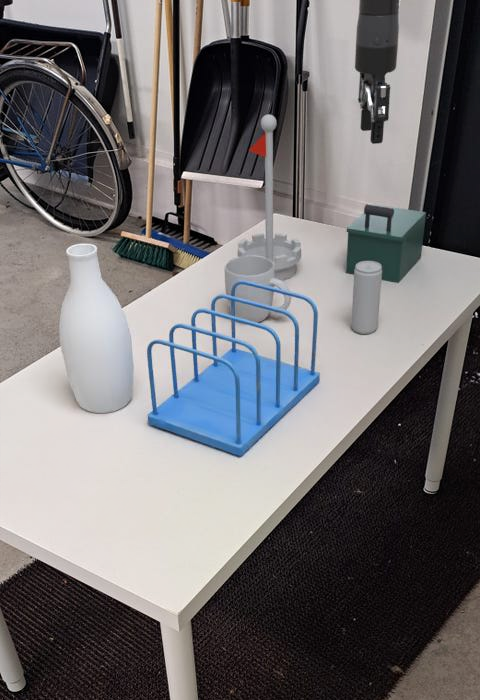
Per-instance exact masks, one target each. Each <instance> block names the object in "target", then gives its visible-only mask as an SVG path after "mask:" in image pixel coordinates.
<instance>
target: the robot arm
mask: <svg viewBox="0 0 480 700" xmlns="http://www.w3.org/2000/svg"><path fill="white" fill-rule="evenodd" d="M400 1H401V0H359V5H358V7H359V8H358V18H357V24H356V37H355V39H356V40H355V56H354V68H355V71H356V72H357V73H359V84H358V86H359V87H358V98H357V101H358V103H359V107H360V108H359V109H360V110H361V111H360V126H359V127H360V130H361V131H362V132H368V131H370V142H371V144H372V145H374V144H375V145H376V144H382V143H383V140H384V128H385V122H388V121H389V118H390V116H389V113H390V97H391V85H390V84H388V82H386V75H387V74H388V73H392V72H394V71H395V70H396V68H397V62H398V61H397V59H398V49H399V36H400V4H401V2H400ZM379 111H380V113H379Z"/></svg>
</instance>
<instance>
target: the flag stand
mask: <svg viewBox="0 0 480 700" xmlns="http://www.w3.org/2000/svg"><path fill="white" fill-rule="evenodd" d="M260 127H261V129H262V130H263V134H262V136H260V137H259V139H257V141H256V142H255V143H254V144H253V145H252V146H251V147H250V148H249V149H248V151H249V152H251V153H253V154H255V155H259V156H261V157H264V199H265V200H264V201H265V202H264V206H265V208H264V209H265V211H264V212H265V213H264V215H265V218H264V219H265V233H263V232H262V233H257V234H252V235H251V240H250V241H248V239H246V238H242V239H241V240H240V241H238V242H237V252H236V253H237V257H241V256H260V257H264V258H267V259H269V260H271V261H272V262H273V264H274V274H275V279H279V280H281V281H285V280H288V279H291V278H292V277H293V276H295V274H296V273H297V264H298V263H299V262H300V261H301V259H302V242H301V240H299V239H298V238H297V237H294V238H291V240H289V239H288V234H285V233H278V232H275V233H274V130H275V129H276V128H277V119H276V117H275V116H274V115H272V114H271V113H269V114H265V115H264V116H263V117H262V118H261V119H260Z"/></svg>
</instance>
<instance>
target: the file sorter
mask: <svg viewBox="0 0 480 700" xmlns="http://www.w3.org/2000/svg"><path fill="white" fill-rule="evenodd" d="M240 284H244V285H249V286H253V287H257V288H261V289H265V290H269V291H273V292H274V293H277V294H280V295H283V296H284V295H288V296H291V298H292V297H293V298H296V299H300V300H303V301H305V302H306V303H308V304H309V305H310V307H311V309H312V312H313V320H312V321H313V325H312V326H313V327H312V340H311V341H312V344H311V361H310V362H311V363H310V369H307V368H304V367H301V366H299V356H300V355H299V354H300V351H299V350H300V346H299V345H300V326H299V322H298V320H297V319H296V317H295V316H294V315H293V314H292V313H291V312H290V311H288V310H287V309H286V310H283V309H280V308H276V307H277V306H273V305H272V306H268V305H265V304H261V303H257V302H253V301H249V300H246V299H242V298H238V297H235V289H236V287H237V286H238V285H240ZM221 299H223V300H224V299H225V300H227V299H228V300H231V312H230V314H228V313H223V312H221V311H217V310H216V303H217V301H218V300H221ZM235 301H236V302H240V303H244V304H248V305H252V306H255V307H259V308H263V309H267V310H270V311H274V312H278V314H282V315H285V316H286V317H288V318H289V319H290V321H291V322H292V323H293V327H294V360H293V361H294V362H293V364H290V363H287V362H283V361H281V350H282V349H281V340H280V338H279V335H278V334H277V333H276V331H275V330H274V329H273V328H272V327H270V326H268V325H266V324H262V323H260V322H258V323H256V322H253V321H249V320H246V319H242V318H238V317H235ZM198 314H207V315H210V316H211V321H210V322H211V330H208V329H204V328H200V327H197V326H196V325H197V324H196V318H197V315H198ZM216 317H218V318H223V319H226V320H229V321H231V323H230V324H231V325H230V326H231V336H229V335H225V334H221V333H218V332H217V327H216V325H217V324H216V321H217V320H216V319H217V318H216ZM318 317H319V312H318V308H317V305H316V304H315V302H314V301H313V300H312V299H311V298H310V297H308V296H307V295H304V294H301V293H297V292H293V291H291V290H290V291H286V290H282V289H279V288H278V287H275V286H274V287H270V286H266V285H262V284H258V283H254V282H250V281H245V280H241V281H238V282H237V283H235V284H234V285H233V287H232V289H231V296H230V295H226V293H224V294H223V293H220V294H218V295H216V296H215V297H214V298H213V299H212V300H211V303H210V309H209V308H199V309H196V310H195V311H194V312H193V313H192V315H191V319H190V325H189V324H186V323H177V324H176V323H175V325H173V326H172V327H171V328H170V330H169V334H168V341H167V340H163V339H154V340H152V341H150V342H149V344H148V345H147V348H146V358H147V359H146V360H147V368H148V379H149V388H150V389H149V390H150V399H151V407H152V408H151V409H152V411H150V412H149V413H148V414H147V424H148V425H151V426H154V427H156V428H159V429H162V430H166V431H169V432H171V433H174V434H177V435H180V436H182V437H185V438H188V439H190V440H194V441H197V442H199V443H202V444H205V445H207V446H210V447H213V448H216V449H219V450H222V451H225V452H228V453H230V454H234V455H236V456H238V457H241V456H243V455H244V454H245V453H246V452H247V451H248V449H250V448H251V447H252V446H253V445H255V443H256V442H257V441H258V440H259V439H261V438H262V436H264V435H265V434H266V432H267V431H269V430H270V429H271V428H272V427H274V425H275V424H276V423H278V422H279V421H280V420H281V418H283V416H285V415H286V414H287V413H288V412H289V411H290V410H291V409H292V408H293V407H294V406H295V405H296V404H297V403H299V402H300V400H302V399H303V398H304V397H305V396H306V395H307V394H308V393H309V392H311V390H312V389H313V388H314V387H315V386H316V385H317V384H319V382H320V380H321V379H320V375H321V374H320V372H317V371H315V370H316V357H317V356H316V355H317V353H316V352H317V338H318ZM236 322H237V323H239V324H240V323H241V324H243V325H247V326H251V327H254V328H257V329H261V330H264V331H266V332H267V333H269V334H270V335H272V337H273V338H274V341H275V344H276V345H275V346H276V349H275V351H276V352H275V359H273V358H270V357H267V356H262V355H260V354H259V353H258V351H257V350H256V348H255V347H254V346H253V345H251V343H249V342H247V341H245V340H242V339H239V338H236ZM177 329H185V330H187V331H191V346H192V348H191V347H188V346H185V345H182V344H178V343H176V342H175V341H174V333H175V331H176V330H177ZM198 333H199V334H202V335H205V336H206V335H207V336H210V337H212V339H211V340H212V341H211V342H212V354H211V353H208V352H205V351H201V350H198V349H197V334H198ZM217 339H219V340H223V341H226V342H230V343H231V348H230V349H229V350H227V351H226V352H225V353H224V354H222V355H221V356H218V347H217V346H218V345H217ZM174 342H175V343H174ZM154 345H162V346H166V347H169V357H170V366H171V376H172V386H173V387H172V388H173V394H172V395H171V396H169V397H168V398H167V399H166V400H165V401H163V402H162V403H161V404H159V405H158V406H157V398H156V397H157V396H156V387H155V378H154V368H153V356H152V355H153V353H152V350H153V346H154ZM236 345H240V346H243V347H245V348H246V349H248V350H249V351H250V352H249V351H246V350H243V349H239V348H237V346H236ZM175 349H177V350H180V351H183V352H187V353H189V354H191V355H192V361H193V375H194V377H193V378H192V379H191V380H189V381H188V382H187V383H186V384H185V385H183V386H182V387H181V388H178V378H177V377H178V375H177V365H176V355H175ZM198 356H199V357H203V358H206V359H208V360H212V361H213V363H211V364H210V365H209V366H208V367H206V368H205V369H204V370H202V371H201V372H200V373H199V367H198Z"/></svg>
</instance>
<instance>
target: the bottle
mask: <svg viewBox="0 0 480 700" xmlns="http://www.w3.org/2000/svg"><path fill="white" fill-rule="evenodd" d="M65 255H66V256H67V260H68V267H69V276H70V283H69V286H68V288H67V291H66V293H65V297H64V299H63V300H62V304H61V307H60V308H61V309H60V315H59V322H58V324H59V325H58V326H59V328H58V330H59V331H58V333H59V345H60V349H61V353H62V359H63V362H64V366H65V370H66V375H67V378H68V380H69V383H70V384H69V385H70V386H71V389H72V391H73V395H74V397H75V400H76V402H77V404H78V405H79V406H80V407H81V408H82V409H83V410H85V411H87V412H88V413H89V412H90V413H95V414H108V413H113V412H116V411H120V410H121V409H123V408H124V407H126V406H127V405H128V404H129V402H130V401H131V400H132V398H133V393H134V390H133V389H134V356H133V355H134V354H133V341H132V334H131V330H130V326H129V324H128V320H127V317H126V314H125V312H124V310H123V307H122V305H121V303H120V302H119V299H118V297H117V296H116V295H115V293H114V292H113V291H112V290H111V288H110V287H109V286H108V284H107V283H106V282H105V280H103V278H102V274H101V269H100V263H99V259H98V247H97V246H96V245H95V244H92V243H76V244H73V245H71V246H69V247H68V248H66V249H65Z"/></svg>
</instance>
